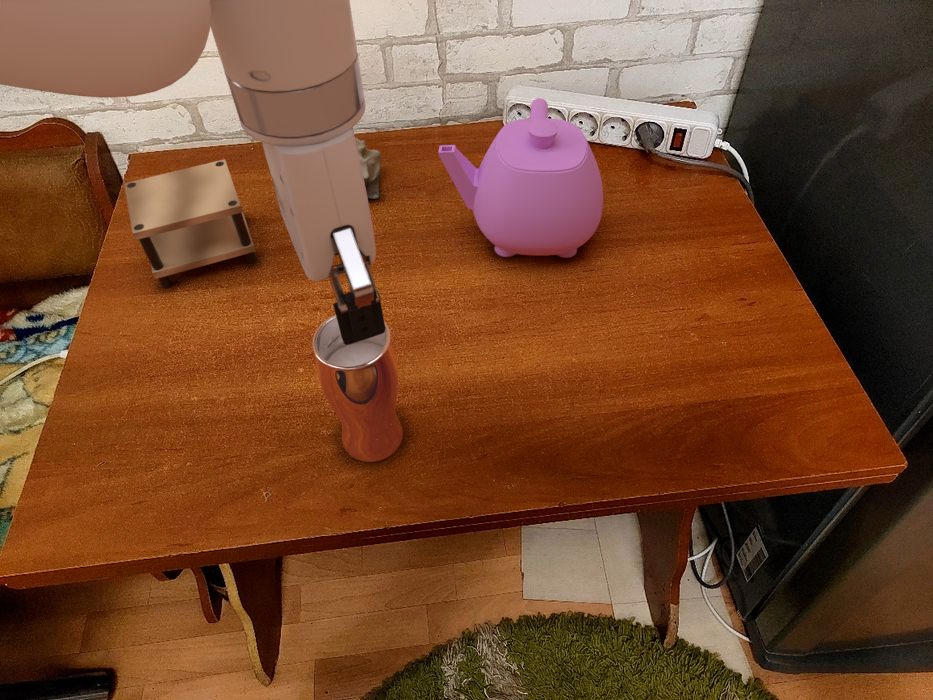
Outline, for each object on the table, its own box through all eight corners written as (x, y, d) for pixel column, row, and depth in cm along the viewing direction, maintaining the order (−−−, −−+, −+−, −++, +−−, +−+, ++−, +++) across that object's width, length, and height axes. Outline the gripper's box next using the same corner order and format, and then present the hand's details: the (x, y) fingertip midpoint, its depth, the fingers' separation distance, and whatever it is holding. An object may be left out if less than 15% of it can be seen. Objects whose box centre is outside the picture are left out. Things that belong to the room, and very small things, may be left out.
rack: (161, 291, 82) (132, 233, 76) (151, 241, 88) (123, 183, 81) (260, 263, 85) (240, 205, 78) (244, 216, 91) (225, 158, 84)
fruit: (326, 217, 93) (303, 166, 87) (326, 181, 99) (304, 132, 94) (391, 199, 92) (372, 146, 87) (386, 164, 99) (369, 113, 93)
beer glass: (325, 453, 67) (293, 356, 56) (358, 399, 72) (335, 299, 60) (388, 476, 66) (369, 381, 54) (418, 420, 70) (407, 320, 58)
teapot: (447, 176, 96) (443, 74, 85) (590, 177, 96) (605, 75, 84) (438, 272, 84) (432, 169, 72) (603, 275, 83) (623, 170, 72)
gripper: (209, 38, 44) (273, 240, 58) (267, 187, 34) (329, 391, 47) (321, 15, 46) (358, 215, 59) (408, 150, 36) (430, 356, 49)
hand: (345, 293), depth 53 cm, fingers open, 9 cm apart
